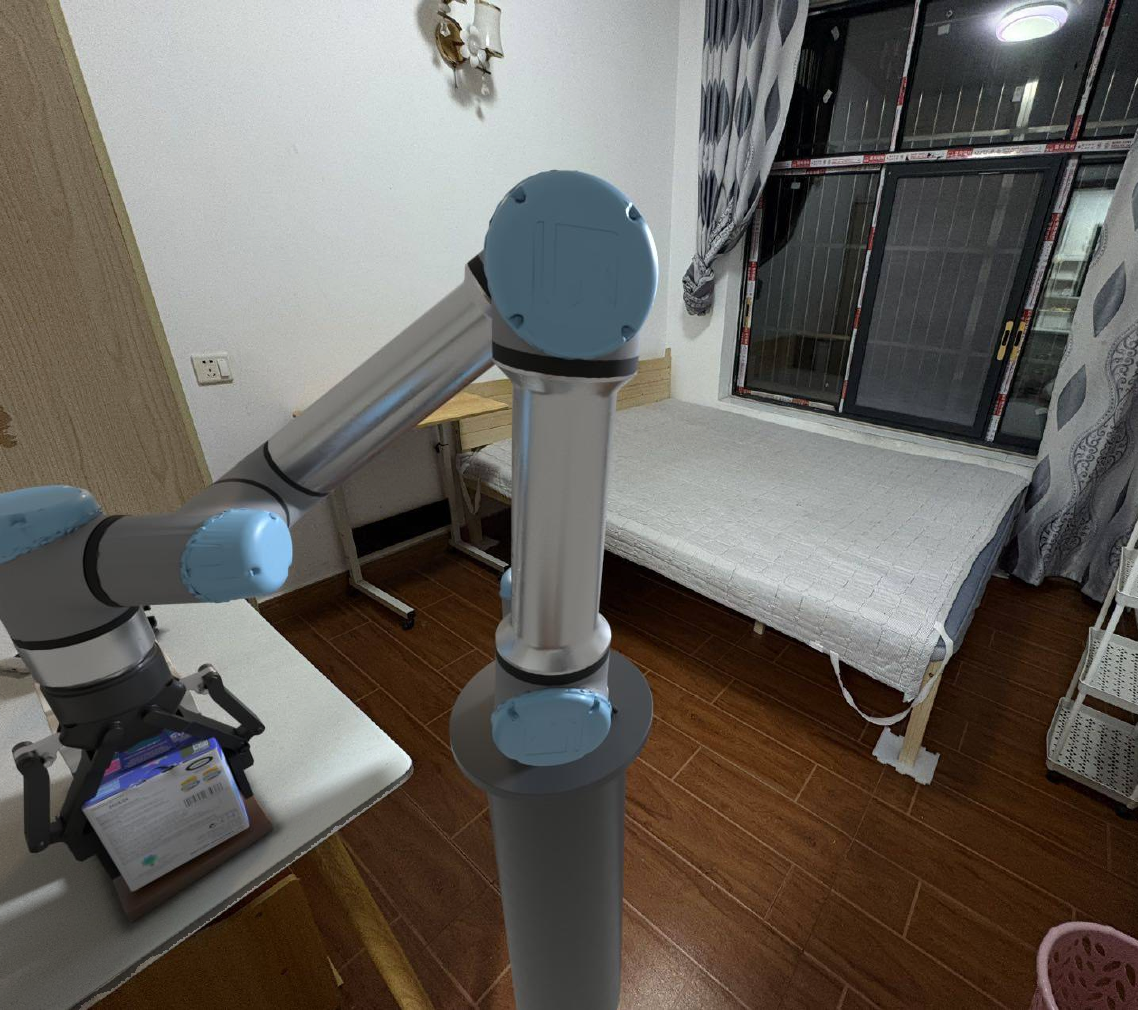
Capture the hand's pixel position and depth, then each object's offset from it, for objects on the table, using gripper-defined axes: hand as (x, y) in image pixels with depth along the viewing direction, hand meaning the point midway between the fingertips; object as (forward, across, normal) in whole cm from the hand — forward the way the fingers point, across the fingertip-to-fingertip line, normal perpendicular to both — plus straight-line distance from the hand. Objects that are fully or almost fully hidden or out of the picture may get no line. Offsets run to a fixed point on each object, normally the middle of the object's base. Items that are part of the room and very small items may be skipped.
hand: (184, 826), depth 57 cm
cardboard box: (+4, 0, -8) cm, 9 cm away
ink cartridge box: (+2, 0, 0) cm, 2 cm away
